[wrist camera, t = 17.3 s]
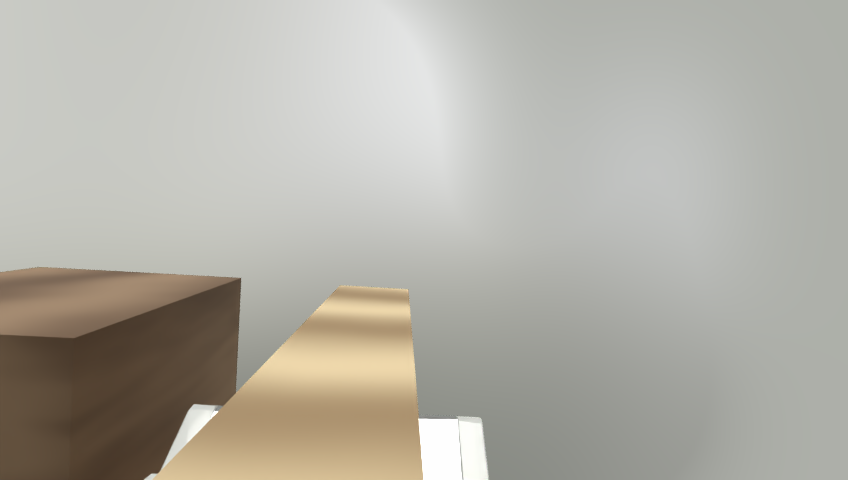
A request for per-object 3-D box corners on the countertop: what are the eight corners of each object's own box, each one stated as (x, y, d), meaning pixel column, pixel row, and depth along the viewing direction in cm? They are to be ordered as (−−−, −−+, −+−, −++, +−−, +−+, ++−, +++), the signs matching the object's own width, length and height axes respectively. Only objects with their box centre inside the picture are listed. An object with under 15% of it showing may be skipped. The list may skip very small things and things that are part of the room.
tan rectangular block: (403, 858, 6) (424, 501, 6) (124, 855, 6) (141, 490, 6) (402, 378, 24) (408, 289, 24) (335, 375, 24) (340, 285, 24)
